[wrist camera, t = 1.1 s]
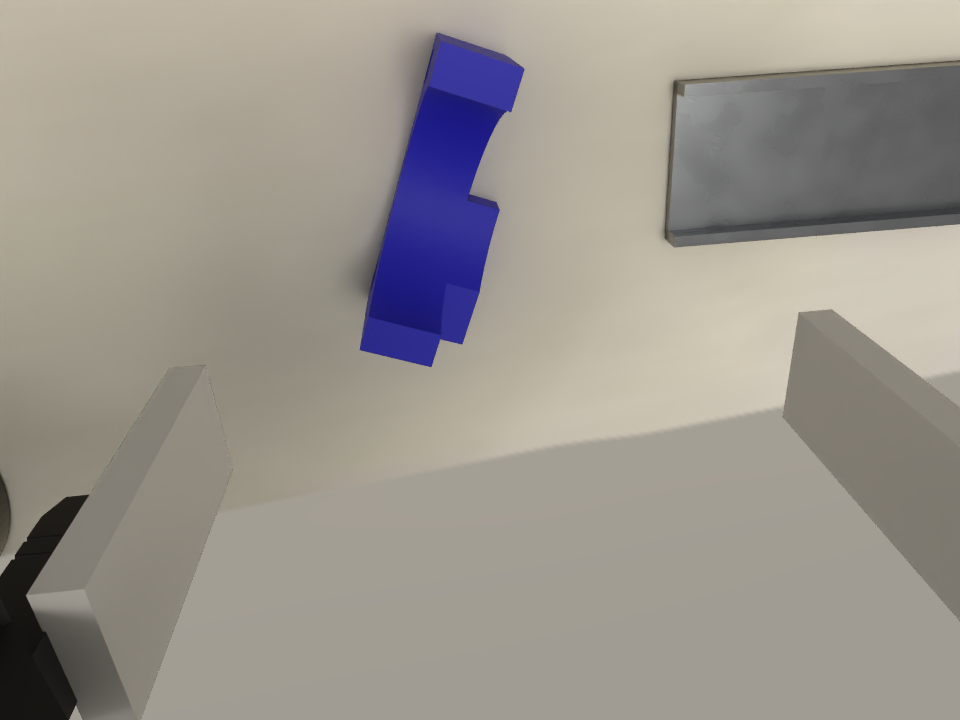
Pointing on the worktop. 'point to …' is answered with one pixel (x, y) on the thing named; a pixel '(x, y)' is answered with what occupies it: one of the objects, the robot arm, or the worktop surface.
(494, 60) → the cable clip
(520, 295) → the worktop surface
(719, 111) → the rail
